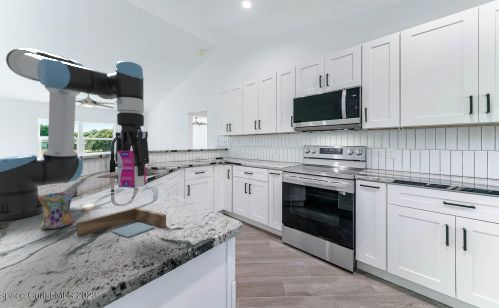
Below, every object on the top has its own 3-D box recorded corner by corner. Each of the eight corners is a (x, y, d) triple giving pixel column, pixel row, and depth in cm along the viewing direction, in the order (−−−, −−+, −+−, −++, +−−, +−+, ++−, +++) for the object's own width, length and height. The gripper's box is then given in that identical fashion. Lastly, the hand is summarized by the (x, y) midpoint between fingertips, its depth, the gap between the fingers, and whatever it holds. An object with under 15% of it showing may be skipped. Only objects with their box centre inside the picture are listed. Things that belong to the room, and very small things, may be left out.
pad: (111, 231, 70) (111, 230, 70) (138, 223, 78) (138, 222, 78) (127, 238, 65) (127, 236, 65) (154, 228, 73) (154, 227, 73)
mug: (79, 224, 77) (78, 194, 76) (44, 233, 69) (43, 199, 68) (66, 218, 83) (65, 190, 83) (32, 225, 75) (31, 195, 75)
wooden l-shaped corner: (77, 235, 67) (76, 222, 67) (136, 217, 84) (136, 207, 84) (106, 248, 59) (106, 233, 59) (166, 226, 75) (165, 214, 75)
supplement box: (117, 187, 69) (116, 150, 68) (131, 184, 75) (130, 150, 74) (133, 188, 68) (132, 150, 67) (146, 184, 73) (145, 150, 73)
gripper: (101, 114, 72) (103, 184, 73) (138, 109, 62) (140, 190, 63) (124, 116, 78) (126, 181, 79) (161, 112, 68) (162, 186, 69)
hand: (132, 185), depth 71 cm, fingers closed on supplement box, 7 cm apart
